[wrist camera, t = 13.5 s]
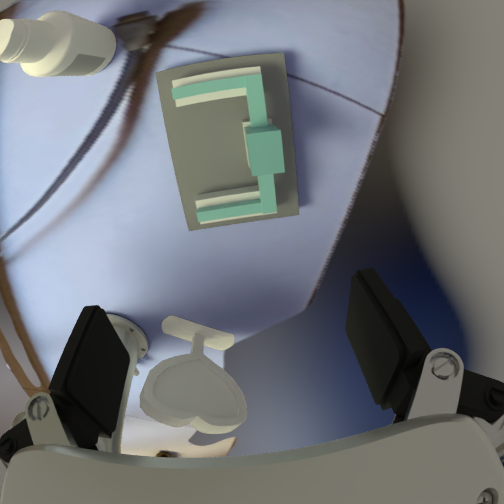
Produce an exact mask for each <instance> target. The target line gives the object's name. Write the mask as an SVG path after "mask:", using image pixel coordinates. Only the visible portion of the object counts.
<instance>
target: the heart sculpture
mask: <svg viewBox="0 0 504 504" xmlns="http://www.w3.org/2000/svg"><path fill="white" fill-rule="evenodd" d="M161 326H162V330H163V333H166V334H169V335H172V336H175V337H178V338H181V339H184V340H188V341H191V342H192V344H191V353H190V354H185V355H179V356H175V357H172V358H169V359H166V360H163V361H161V362H160V363H159V364H158V365H156V366H155V367H154V368H153V369H151V370H150V372H149V374H148V376H147V379H146V381H145V384H144V386H143V389H142V391H141V394H140V408H141V409H142V410H143V411H144V412H145V414H146V415H148V416H150V417H151V418H153V419H155V420H156V421H159V422H161V423H163V424H165V425H169V426H172V427H182V426H185V425H188V424H190V425H191V426H193V427H194V428H195V429H197V430H198V431H200V432H202V433H208V434H221V433H227V432H231V431H232V430H234V429H235V428H237V427H238V426H239V425H240V424H242V423H243V422H244V421H245V420H246V415H247V406H246V402H245V398H244V394H243V393H242V391H241V390H240V388H239V387H238V385H237V384H236V382H235V381H234V379H232V378H231V377H230V376H229V375H228V374H227V373H226V372H225V371H224V370H223V369H222V368H221V367H219V366H218V365H217V364H215V363H214V362H213V361H211V360H210V359H209V358H208V357H206V356H205V355H204V354H203V348H204V346H208V347H211V348H215V349H218V350H222V351H223V350H225V349H227V348H229V347H231V346H232V345H233V344H234V335H233V334H230V333H226V332H223V331H219V330H216V329H213V328H210V327H206V326H203V325H200V324H197V323H194V322H191V321H188V320H185V319H182V318H179V317H176V316H173V315H170V316H169V317H167V318H165V319H164V320H163V321H162V324H161Z"/></svg>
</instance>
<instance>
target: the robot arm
mask: <svg viewBox="0 0 504 504" xmlns="http://www.w3.org/2000/svg"><path fill="white" fill-rule="evenodd" d="M346 334H347V336H348V339H349V341H350V343H351V345H352V348H353V350H354V353H355V355H356V358H357V360H358V362H359V365H360V367H361V370H362V372H363V374H364V377H365V379H366V382H367V384H368V387H369V389H370V391H371V394H372V397H373V399H374V401H375V403H376V404H377V405H378V404H380V406H381V408H382V410H385V409H389V408H392V409H393V411H394V413H395V414H396V415H395V418H394V420H393V423H392V425H388V426H385V427H382V428H378V429H375V430H372V431H368V432H365V433H361V434H358V435H354V436H350V437H347V438H343V439H338V440H334V441H330V442H326V443H321V444H317V445H312V446H307V447H302V448H297V449H290V450H284V451H277V452H270V453H263V454H253V455H244V456H230V457H210V458H169V457H149V456H137V455H126V454H121V439H122V431H123V424H124V418H125V412H126V407H127V402H128V397H129V392H130V387H131V382H132V378H133V374H134V375H135V376H137V375H139V371H138V369H137V368H136V365H137V360H138V359H141V358H142V357H144V356H145V354H146V352H147V350H148V340H147V337H146V336H145V334H144V333H143V331H142V330H141V329H140V328H139V327H138V326H137V325H135V324H134V323H132V322H131V321H129V320H127V319H125V318H123V317H120V316H117V315H113V314H106V312H105V311H104V309H101V308H100V307H99V306H98V305H94V306H85V307H84V308H83V310H82V312H81V314H80V316H79V318H78V320H77V322H76V324H75V326H74V328H73V331H72V333H71V335H70V337H69V339H68V342H67V344H66V346H65V348H64V351H63V353H62V355H61V358H60V360H59V363H58V365H57V367H56V370H55V372H54V375H53V378H52V380H51V383H50V385H49V388H48V389H49V390H50V391H51V393H50V396H49V395H48V394H47V393H37V394H35V395H34V396H32V397H31V398H30V400H29V401H28V403H27V405H26V409H25V412H21V413H19V414H17V415H16V417H15V418H14V420H13V422H12V424H11V427H10V430H8V431H7V432H6V433H5V434H3V435H2V436H1V438H0V504H504V383H502V382H500V381H498V380H495V379H492V378H489V377H485V376H483V375H480V374H477V373H474V372H471V371H468V370H465V369H464V368H463V362H462V360H461V359H460V357H459V356H458V355H457V354H456V353H455V352H454V351H451V350H449V349H444V348H440V349H435V350H433V351H432V350H431V348H430V347H429V345H428V344H427V342H426V340H425V339H424V337H423V336H422V334H421V332H420V331H419V329H418V328H417V326H416V325H415V323H414V322H413V320H412V319H411V317H410V316H409V314H408V313H407V311H406V310H405V308H404V307H403V305H402V304H401V302H400V301H399V300H398V299H396V298H394V297H393V295H392V294H391V293H390V291H389V290H388V288H387V287H386V285H385V284H384V282H383V281H382V280H381V278H380V277H379V275H378V274H377V273H376V271H375V270H374V269H373V268H366V269H360V270H357V272H356V274H355V275H353V276H352V281H351V290H350V297H349V305H348V312H347V319H346Z"/></svg>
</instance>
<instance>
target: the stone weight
mask: <svg viewBox="0 0 504 504" xmlns="http://www.w3.org/2000/svg"><path fill="white" fill-rule="evenodd" d="M156 457H169V458H171V456H170V455H169V454H168V453H163V452H161V453H158V454H157V455H156Z"/></svg>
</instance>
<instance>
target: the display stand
mask: <svg viewBox="0 0 504 504" xmlns="http://www.w3.org/2000/svg"><path fill="white" fill-rule="evenodd" d="M255 74H261V75H262V83H263V90H264V98H265V106H266V114H267V122H268V124H273V125H275V126H276V127H277V128H279V129H280V130H281V137H282V147H283V157H284V168H285V172H283V173H275V174H273V176H274V185H275V195H276V205H277V212H274V213H267V214H263V213H256V214H249V215H242V216H236V217H229V218H223V219H216V220H210V221H204V222H198V218H197V214H196V212H197V208H203V207H209V206H215V205H221V204H228V203H234V202H241V201H248V200H255V199H260V194H259V186H258V178H257V176H252V173H251V169H250V165H249V160H248V152H247V145H246V138H245V131H244V127H251V125H250V117H249V110H248V103H247V96H246V88H237V89H230V90H223V91H217V92H211V93H205V94H200V95H195V96H190V97H185V98H180V99H176V100H173V96H172V90H171V89H173V88H177V87H182V86H187V85H191V84H196V83H202V82H207V81H213V80H219V79H225V78H232V77H240V76H246V75H255ZM156 78H157V84H158V89H159V95H160V101H161V106H162V112H163V117H164V122H165V127H166V132H167V137H168V142H169V147H170V152H171V156H172V161H173V166H174V170H175V175H176V179H177V183H178V188H179V192H180V196H181V200H182V205H183V209H184V213H185V217H186V221H187V225H188V229H189V231H192V230H199V229H205V228H211V227H218V226H224V225H231V224H237V223H244V222H251V221H258V220H265V219H272V218H279V217H287V216H294V215H299V205H298V189H297V175H296V162H295V149H294V138H293V127H292V117H291V107H290V98H289V89H288V81H287V72H286V64H285V57H284V53H270V54H258V55H248V56H239V57H231V58H224V59H218V60H212V61H206V62H200V63H195V64H190V65H185V66H181V67H176V68H172V69H168V70H164V71H160V72H156Z"/></svg>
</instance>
